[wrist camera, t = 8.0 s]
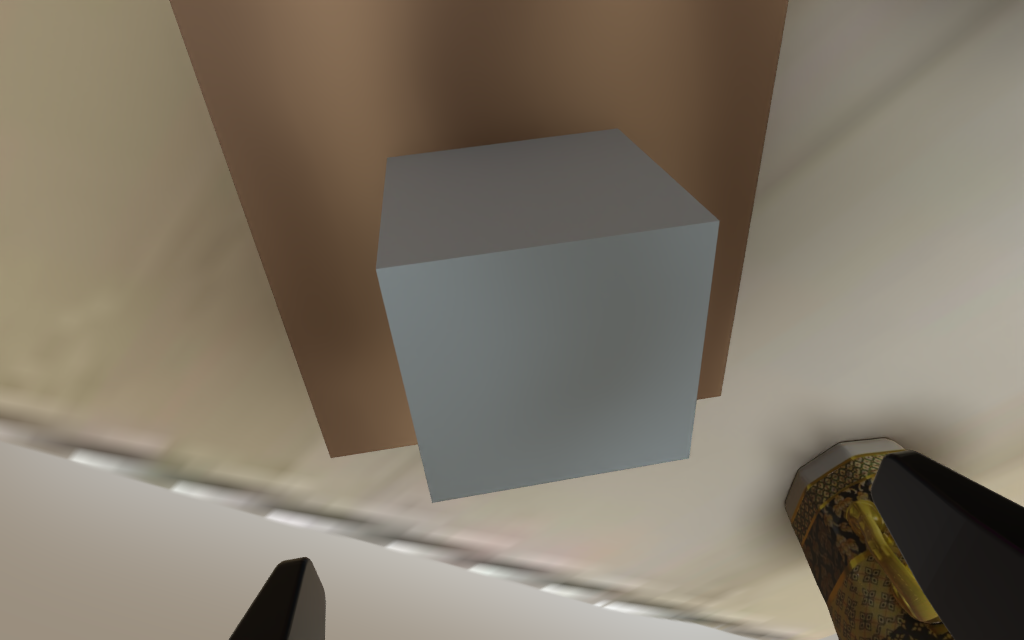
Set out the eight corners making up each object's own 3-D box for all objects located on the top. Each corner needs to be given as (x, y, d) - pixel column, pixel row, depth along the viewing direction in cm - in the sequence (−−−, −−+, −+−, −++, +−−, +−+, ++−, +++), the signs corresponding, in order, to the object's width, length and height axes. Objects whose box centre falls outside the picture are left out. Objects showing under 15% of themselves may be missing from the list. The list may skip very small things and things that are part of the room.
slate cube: (617, 128, 15) (719, 220, 10) (614, 318, 18) (688, 458, 14) (386, 157, 15) (376, 269, 10) (426, 347, 18) (432, 502, 13)
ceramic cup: (961, 467, 32) (1155, 653, 24) (805, 561, 35) (929, 755, 27) (867, 345, 26) (1085, 538, 17) (687, 472, 29) (800, 688, 20)
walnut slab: (721, -65, 17) (799, -65, 13) (678, 334, 24) (720, 395, 21) (218, -20, 15) (167, -8, 12) (341, 384, 23) (331, 457, 20)
